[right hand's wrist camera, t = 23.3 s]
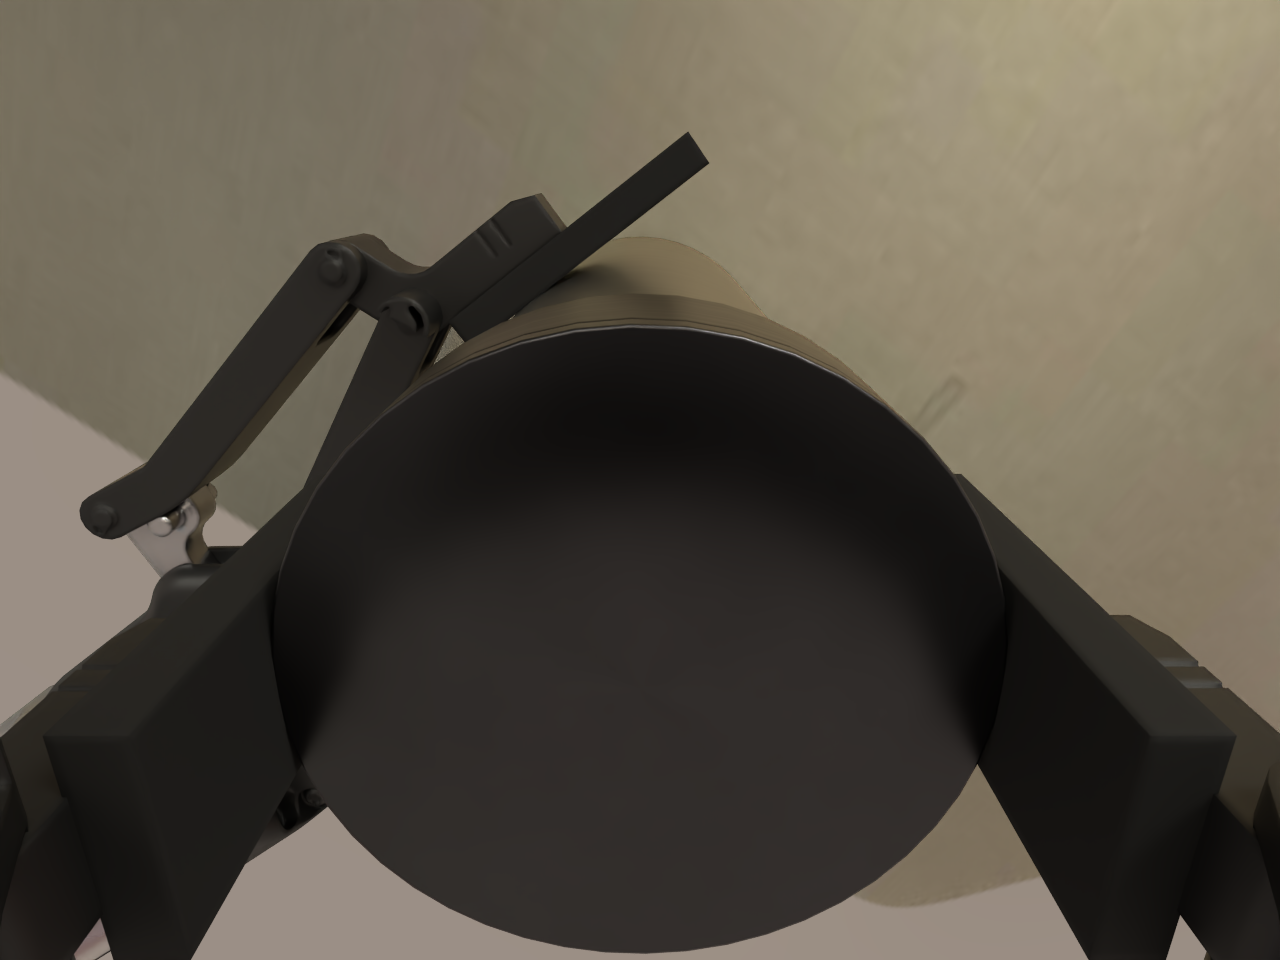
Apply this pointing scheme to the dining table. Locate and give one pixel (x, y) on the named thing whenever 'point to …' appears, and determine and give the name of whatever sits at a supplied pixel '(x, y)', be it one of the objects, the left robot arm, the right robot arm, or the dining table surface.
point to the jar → (646, 275)
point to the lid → (639, 629)
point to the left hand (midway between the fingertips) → (801, 310)
